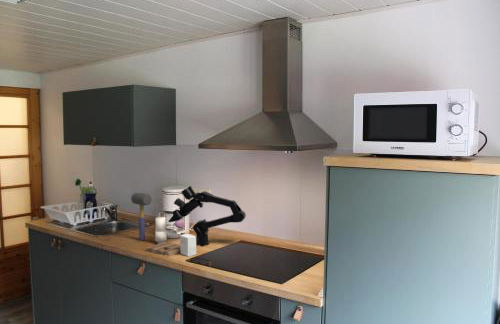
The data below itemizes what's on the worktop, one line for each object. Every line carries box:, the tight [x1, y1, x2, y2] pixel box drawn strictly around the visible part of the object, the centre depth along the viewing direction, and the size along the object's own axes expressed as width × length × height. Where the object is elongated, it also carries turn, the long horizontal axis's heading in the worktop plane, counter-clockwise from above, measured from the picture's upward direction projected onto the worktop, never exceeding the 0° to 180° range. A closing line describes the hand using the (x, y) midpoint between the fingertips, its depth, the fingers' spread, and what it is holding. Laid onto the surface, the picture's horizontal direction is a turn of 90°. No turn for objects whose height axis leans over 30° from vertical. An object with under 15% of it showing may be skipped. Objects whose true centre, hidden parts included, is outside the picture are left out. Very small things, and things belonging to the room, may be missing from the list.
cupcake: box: [173, 218, 184, 228], centre depth 272 cm, size 9×9×10 cm
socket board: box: [145, 241, 181, 257], centre depth 233 cm, size 18×15×2 cm
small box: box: [179, 233, 197, 257], centre depth 225 cm, size 8×6×10 cm
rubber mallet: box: [130, 192, 153, 241], centre depth 255 cm, size 12×8×30 cm, turn 54°
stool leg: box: [154, 216, 168, 244], centre depth 247 cm, size 7×7×16 cm
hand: (171, 220), depth 248 cm, fingers open, 9 cm apart
